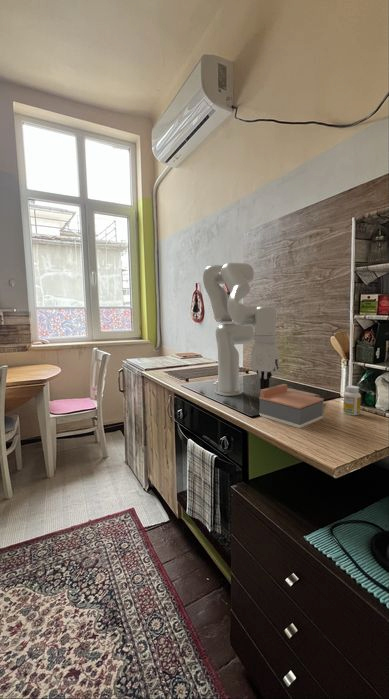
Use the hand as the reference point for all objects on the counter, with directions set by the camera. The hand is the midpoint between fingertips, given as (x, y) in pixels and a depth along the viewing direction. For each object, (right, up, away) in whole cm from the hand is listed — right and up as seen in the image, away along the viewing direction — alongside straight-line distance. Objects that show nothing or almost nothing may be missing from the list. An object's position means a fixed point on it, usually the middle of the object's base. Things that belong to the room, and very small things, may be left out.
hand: (264, 388), depth 116 cm
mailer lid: (+7, -3, -8) cm, 11 cm away
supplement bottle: (+30, -8, -4) cm, 32 cm away
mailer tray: (+7, -9, -8) cm, 14 cm away
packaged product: (+17, -7, +11) cm, 21 cm away
